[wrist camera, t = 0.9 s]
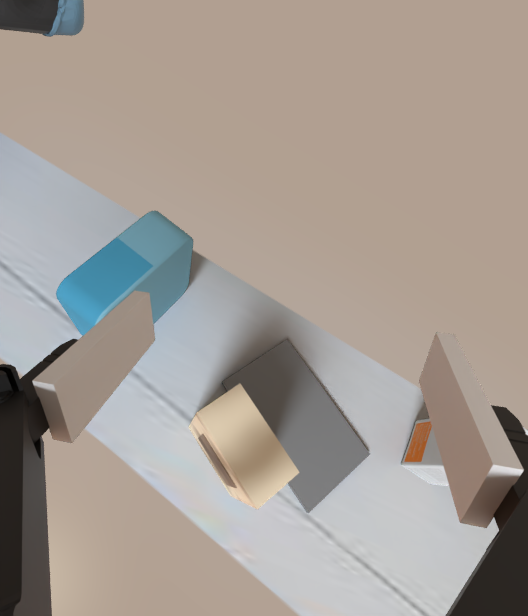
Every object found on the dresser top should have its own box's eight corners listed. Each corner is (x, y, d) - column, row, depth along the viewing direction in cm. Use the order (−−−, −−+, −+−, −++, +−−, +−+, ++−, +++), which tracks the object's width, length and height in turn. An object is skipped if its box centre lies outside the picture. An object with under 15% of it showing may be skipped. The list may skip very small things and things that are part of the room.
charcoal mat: (221, 382, 40) (222, 381, 39) (286, 340, 44) (287, 338, 43) (306, 512, 37) (308, 512, 36) (367, 454, 41) (370, 454, 40)
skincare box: (414, 419, 44) (493, 405, 33) (443, 438, 44) (531, 430, 33) (398, 466, 41) (479, 466, 30) (429, 486, 41) (521, 494, 30)
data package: (160, 266, 44) (157, 203, 33) (188, 289, 43) (195, 232, 33) (82, 337, 38) (49, 288, 28) (114, 363, 38) (93, 324, 27)
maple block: (187, 427, 37) (195, 413, 27) (220, 405, 39) (240, 383, 28) (229, 496, 36) (256, 510, 25) (262, 470, 37) (299, 472, 27)
